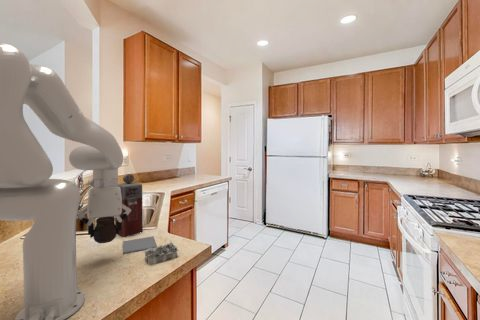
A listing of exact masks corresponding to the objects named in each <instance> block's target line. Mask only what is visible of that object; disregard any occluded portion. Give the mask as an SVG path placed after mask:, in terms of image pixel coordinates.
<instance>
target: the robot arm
mask: <svg viewBox="0 0 480 320" xmlns="http://www.w3.org/2000/svg"><path fill="white" fill-rule="evenodd" d="M24 105H27V106H28V107H29V108H30V109H31V111H32V112H33V113H34V114H35V116H37V117H38V118H39V120H40V121H41V122H42V123H43V125H44V126H45V127H46V128H47V129H48V131H49V132H50V133H52V135H55V136H57V137H59V138H63V139H66V140H69V141H72V142H76V143H80V144H84V145H86V146H77V147H75V148H73V149H72V150H71V152H70V153H69V155H68V160H69V164H70V165H71V166H72V167H73V168H75V169H77V170H81V171H92V179H91V180H88V181H87V186H92V187H91V188H89V192H88V198H87V206H86V207H85V208H84V209H82V210H80V211H79V208H80V207H79V205H80V202H81V191H80V188H79V187H78V186H77V184H76V183H74V182H72V181H70V180H67V179H63V178H62V179H60V178H51V176H53V172H54V169H53V168H54V167H53V163H52V161H51V160H50V157H49V156H48V154H47V153H46V150H44V148H43V147H42V145H41V144H40V142H39V140H38V139H37V136H35V134H34V133H33V131H32V130H31V128H30V126H29V125H28V123H27V121H26V119H25V116H24V110H23V109H24ZM123 162H124V155H123V151H122V149H121V147H120V145H119V143H118V141H117V139H116V138H115V136H114V135H113V134H112V133H111V132H110V131H108V130H107V129H105V128H104V127H102V126H100V125H99V124H98V123H96V122H94V121H93V120H91V119H89V118H87V117H86V116H85V115H84V113H83V112H82V110H81V109H80V107H79V106H78V104H77V103H76V101H75V99H74V98H73V96H72V95H71V93H70V91H69V89H68V88H67V86H66V84H65V83H64V82H63V80H62V79H61V77H60V75H59V74H58V73H57V72H56V71H54V69H51V68H50V67H47V66H44V65H39V64H32V63H31V64H30V62H29V60H28V57H27V56H26V55H25V54H24V53H23V52H22V51H21V50H20V49H19V48H17V47H16V46H13V45H12V44H9V43H6V42H3V41H0V221H4V222H6V221H7V222H10V221H11V222H12V221H16V222H17V221H30V222H33V224H32V226H31V228H30V229H29V230H28V231H27V233H26V235H25V237H24V238H23V242H22V265H23V268H22V269H23V302H24V305H23V308H22V309H20V310H19V311H18V312H17V314H16V315H15V316H14V320H66V319H67V318H70V317H71V316H72V315H74V314H76V312H78V311H79V310H80V309H81V308H82V307H83V304H84V303H85V300H86V299H85V297H86V296H85V293H84V291H82V290H79V289H78V284H77V283H78V280H77V278H78V277H77V273H78V272H77V271H78V270H77V232H76V231H77V218H78V219H79V220H81V222H82V223H84V224H85V225H86V226H87V236H89V238H90V239H91V238H93V231H94V229H95V224H94V221H95V219H98V218H104V217H114V216H115V217H116V218H117V234H116V235H118V234H119V231H121V222H122V221H123V220H124V219H125V218H126V217H127V215H128V214H129V213H130V212H131V209H130V208H129V207H127V206H126V205H124V204H123V203H122V195H121V189H120V187H118V184H119V168H121V166H122V165H123ZM122 208H123V209H124V210H126V212H125V213H124V214H123V215H122V216H120V214H121V213H122ZM78 211H79V212H78ZM85 214H86V215H87V216H85ZM115 217H114V218H115Z"/></svg>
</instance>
